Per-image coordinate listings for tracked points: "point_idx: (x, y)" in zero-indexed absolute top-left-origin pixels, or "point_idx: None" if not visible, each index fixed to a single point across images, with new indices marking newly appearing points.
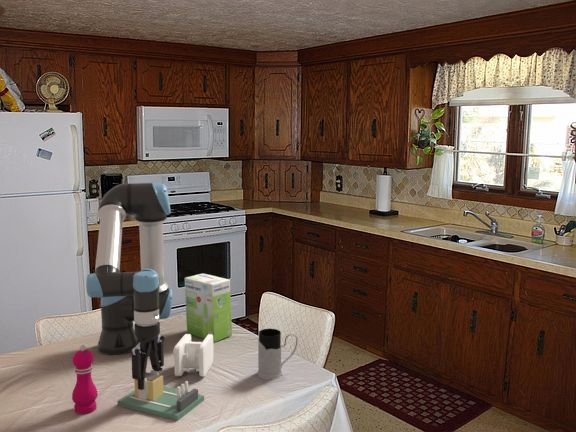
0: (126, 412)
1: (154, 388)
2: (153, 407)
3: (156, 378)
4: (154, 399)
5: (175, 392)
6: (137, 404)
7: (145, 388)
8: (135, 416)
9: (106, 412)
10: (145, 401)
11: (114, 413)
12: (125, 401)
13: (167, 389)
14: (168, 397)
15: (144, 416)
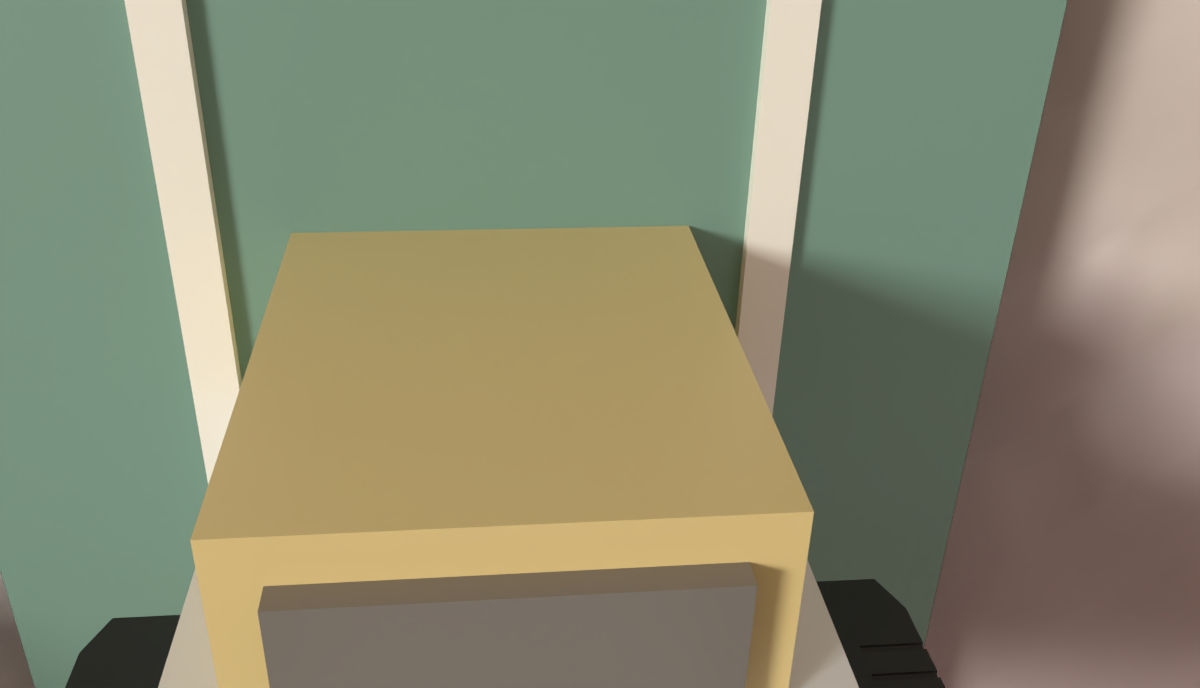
0: (1052, 440)
1: (685, 375)
2: (968, 23)
3: (525, 584)
4: (652, 233)
5: (28, 10)
6: (937, 407)
7: None
8: (1160, 218)
9: (1115, 668)
10: (779, 352)
11: (1122, 566)
12: None
13: (32, 301)
14: (366, 9)
15: (1131, 60)
